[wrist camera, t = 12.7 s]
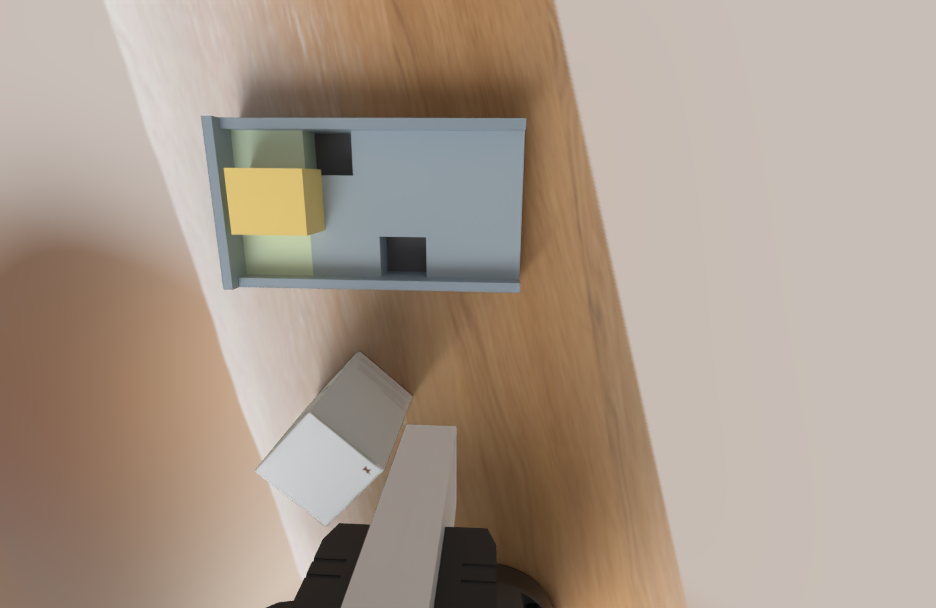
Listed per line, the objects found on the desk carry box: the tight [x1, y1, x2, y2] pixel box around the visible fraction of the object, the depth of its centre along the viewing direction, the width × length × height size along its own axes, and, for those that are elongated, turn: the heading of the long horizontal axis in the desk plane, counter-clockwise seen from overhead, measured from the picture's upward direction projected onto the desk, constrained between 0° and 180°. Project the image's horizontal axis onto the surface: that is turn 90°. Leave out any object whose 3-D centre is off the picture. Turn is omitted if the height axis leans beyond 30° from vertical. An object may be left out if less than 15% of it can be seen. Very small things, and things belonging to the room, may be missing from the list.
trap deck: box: [201, 116, 526, 293], centre depth 40 cm, size 14×25×6 cm, turn 89°
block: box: [224, 168, 325, 236], centre depth 38 cm, size 5×6×4 cm
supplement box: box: [255, 351, 413, 526], centre depth 41 cm, size 7×7×13 cm
